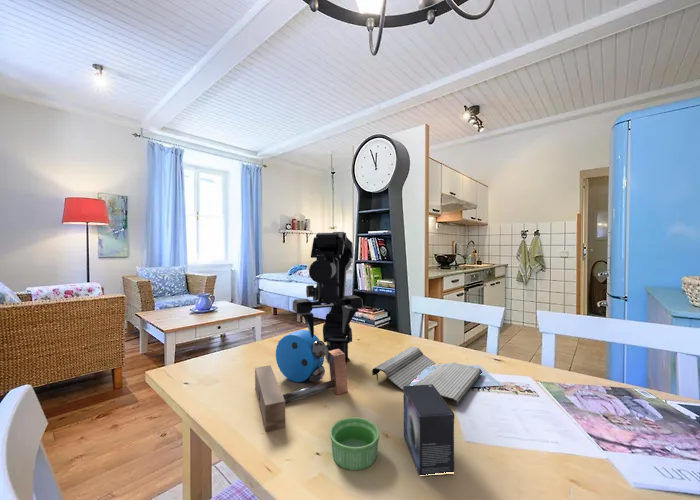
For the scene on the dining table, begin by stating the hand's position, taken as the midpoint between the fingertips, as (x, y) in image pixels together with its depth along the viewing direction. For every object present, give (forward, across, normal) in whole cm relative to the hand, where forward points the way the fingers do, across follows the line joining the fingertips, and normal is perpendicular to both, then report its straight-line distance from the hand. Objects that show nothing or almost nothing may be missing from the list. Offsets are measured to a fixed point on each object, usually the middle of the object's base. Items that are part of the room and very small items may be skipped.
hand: (328, 335), depth 83 cm
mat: (+14, -27, +9) cm, 32 cm away
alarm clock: (+6, +11, -11) cm, 16 cm away
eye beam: (+13, +17, +6) cm, 22 cm away
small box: (+13, -7, +34) cm, 37 cm away
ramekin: (+13, +5, +29) cm, 32 cm away
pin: (+14, +6, +6) cm, 16 cm away
